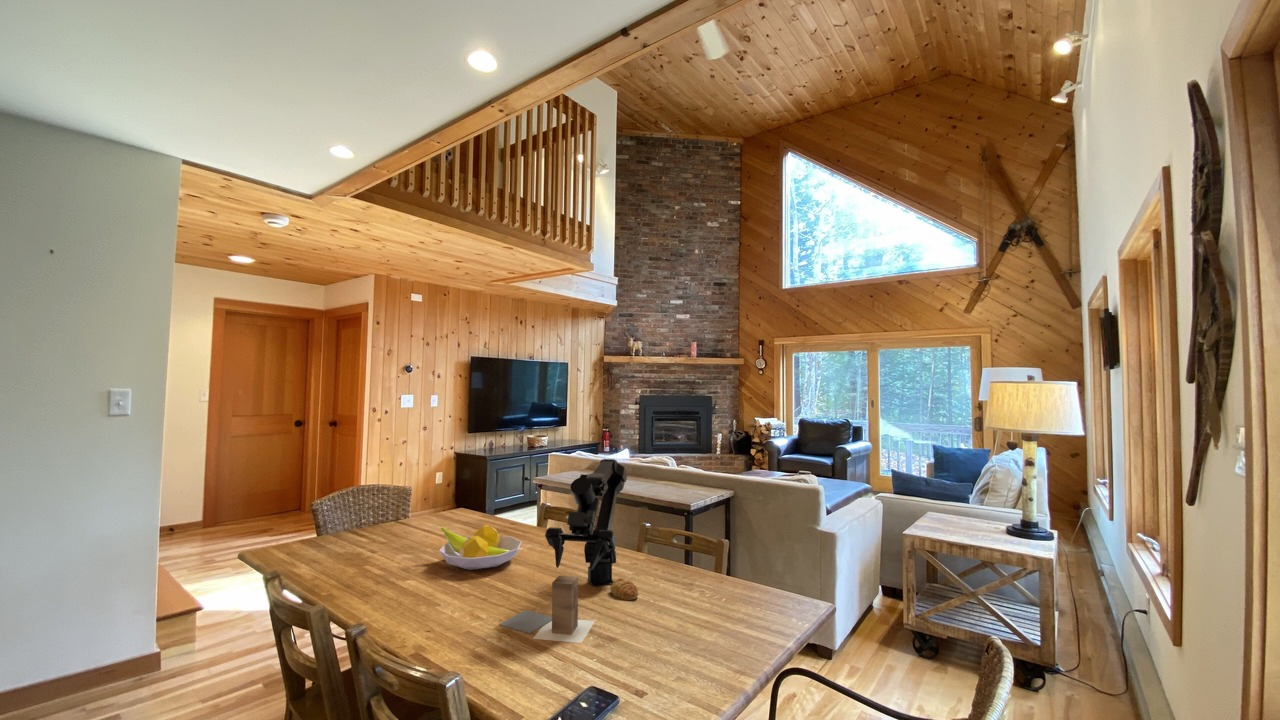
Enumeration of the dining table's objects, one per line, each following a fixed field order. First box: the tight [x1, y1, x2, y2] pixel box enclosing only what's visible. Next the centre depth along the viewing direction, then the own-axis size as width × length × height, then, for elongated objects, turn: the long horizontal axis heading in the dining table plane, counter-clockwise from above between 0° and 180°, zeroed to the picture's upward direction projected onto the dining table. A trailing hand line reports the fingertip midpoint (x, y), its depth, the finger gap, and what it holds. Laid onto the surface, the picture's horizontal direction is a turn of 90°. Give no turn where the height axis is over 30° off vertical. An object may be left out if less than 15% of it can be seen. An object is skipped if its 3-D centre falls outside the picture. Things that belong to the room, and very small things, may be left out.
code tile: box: [532, 619, 596, 644], centre depth 134 cm, size 12×12×1 cm
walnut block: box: [551, 575, 579, 635], centre depth 134 cm, size 5×5×12 cm
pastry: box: [610, 577, 640, 601], centre depth 157 cm, size 9×7×4 cm
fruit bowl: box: [439, 524, 522, 571], centre depth 186 cm, size 28×27×11 cm
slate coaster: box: [498, 609, 552, 635], centre depth 138 cm, size 10×10×1 cm
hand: (573, 568), depth 141 cm, fingers open, 9 cm apart
